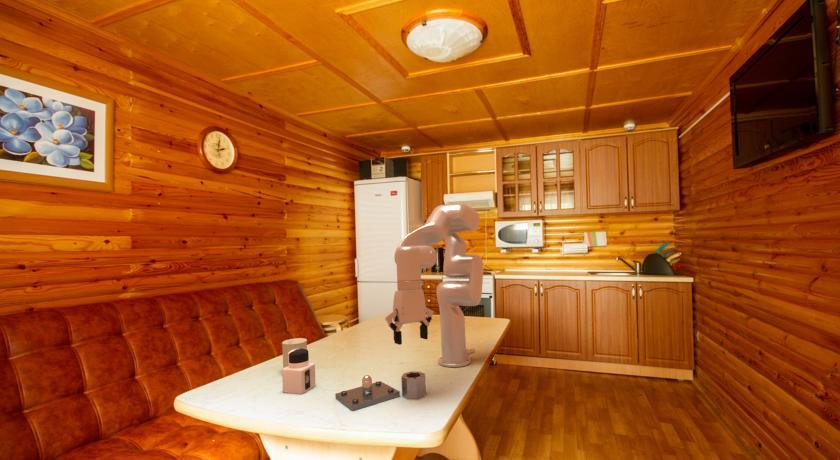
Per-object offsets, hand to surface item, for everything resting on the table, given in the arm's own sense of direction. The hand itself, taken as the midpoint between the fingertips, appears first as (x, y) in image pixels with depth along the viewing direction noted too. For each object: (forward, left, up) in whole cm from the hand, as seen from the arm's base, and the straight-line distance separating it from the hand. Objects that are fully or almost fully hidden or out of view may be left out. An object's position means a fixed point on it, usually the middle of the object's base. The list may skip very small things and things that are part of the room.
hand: (411, 341), depth 120 cm
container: (+26, -30, -17) cm, 43 cm away
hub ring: (0, 0, -17) cm, 17 cm away
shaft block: (+12, -8, -17) cm, 22 cm away
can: (+21, -50, -17) cm, 57 cm away
